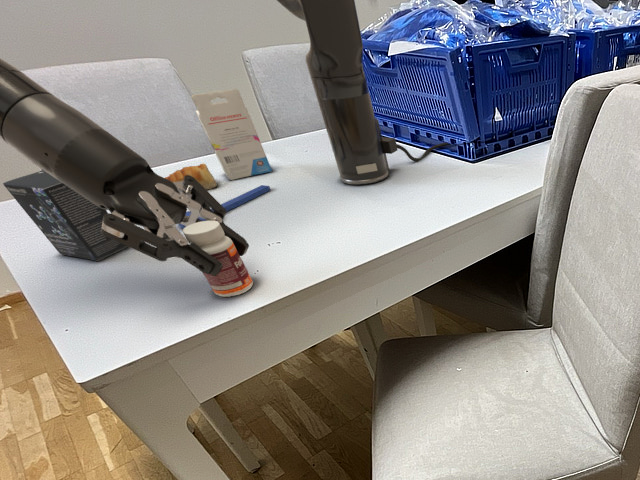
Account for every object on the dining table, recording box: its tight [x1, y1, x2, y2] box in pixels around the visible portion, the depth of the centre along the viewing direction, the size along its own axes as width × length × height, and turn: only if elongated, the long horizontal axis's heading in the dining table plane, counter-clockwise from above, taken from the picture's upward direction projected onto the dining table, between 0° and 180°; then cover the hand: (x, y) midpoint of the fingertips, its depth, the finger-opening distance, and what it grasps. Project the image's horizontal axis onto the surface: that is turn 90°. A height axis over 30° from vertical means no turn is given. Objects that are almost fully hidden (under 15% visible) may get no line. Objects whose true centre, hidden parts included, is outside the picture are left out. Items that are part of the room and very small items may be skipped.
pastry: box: [164, 163, 218, 191], centre depth 87 cm, size 9×7×4 cm
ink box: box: [191, 88, 273, 181], centre depth 89 cm, size 8×5×15 cm, turn 127°
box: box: [2, 169, 129, 262], centre depth 65 cm, size 8×6×11 cm
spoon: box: [178, 184, 271, 230], centre depth 80 cm, size 19×6×1 cm, turn 162°
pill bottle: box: [182, 221, 254, 298], centre depth 57 cm, size 5×5×8 cm
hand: (232, 260), depth 56 cm, fingers closed on pill bottle, 4 cm apart
